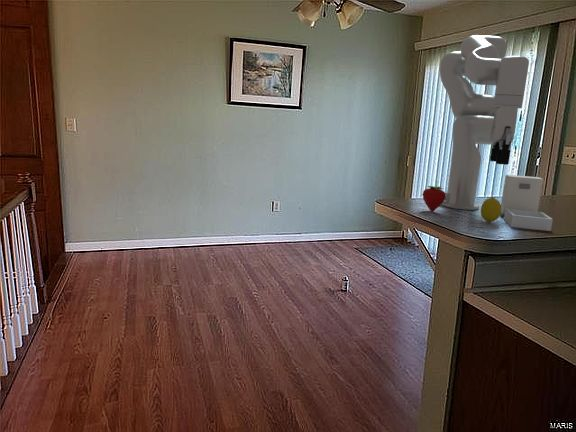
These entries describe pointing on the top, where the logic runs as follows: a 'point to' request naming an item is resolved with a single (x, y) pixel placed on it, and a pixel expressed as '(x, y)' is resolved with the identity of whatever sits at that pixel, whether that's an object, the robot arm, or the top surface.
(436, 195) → the strawberry
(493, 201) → the lemon
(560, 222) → the top surface
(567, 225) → the top surface
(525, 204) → the block
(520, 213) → the tray
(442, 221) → the top surface
